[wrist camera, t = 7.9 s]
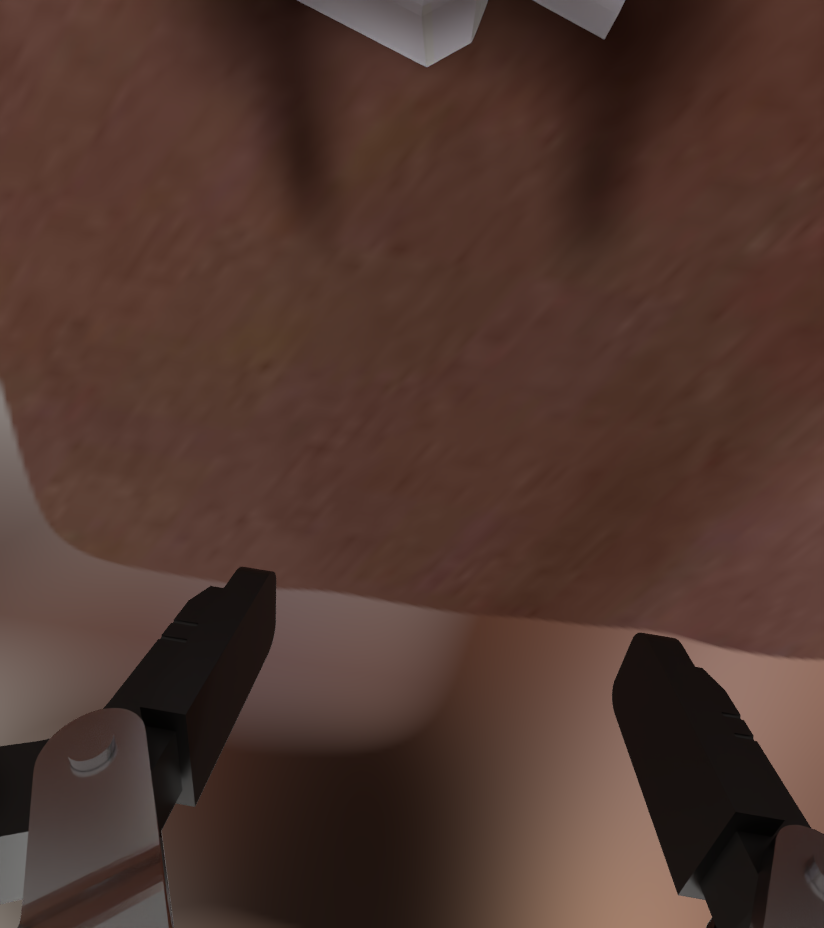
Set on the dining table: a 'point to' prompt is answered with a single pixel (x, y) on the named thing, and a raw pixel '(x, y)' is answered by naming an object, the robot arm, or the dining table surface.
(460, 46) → the charger
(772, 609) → the dining table surface
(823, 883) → the robot arm
